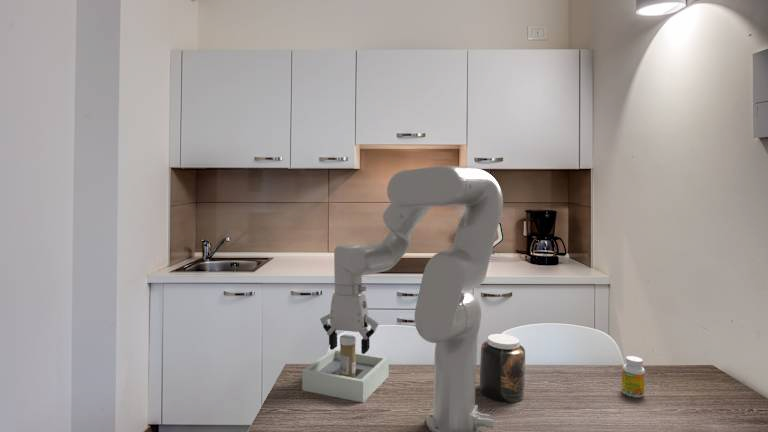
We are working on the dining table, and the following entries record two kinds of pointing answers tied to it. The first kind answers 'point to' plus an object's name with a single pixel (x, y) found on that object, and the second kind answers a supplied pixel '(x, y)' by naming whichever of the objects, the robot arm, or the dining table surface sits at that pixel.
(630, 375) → the supplement bottle
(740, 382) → the dining table surface
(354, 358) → the sprinkles bottle
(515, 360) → the jar
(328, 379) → the open box
